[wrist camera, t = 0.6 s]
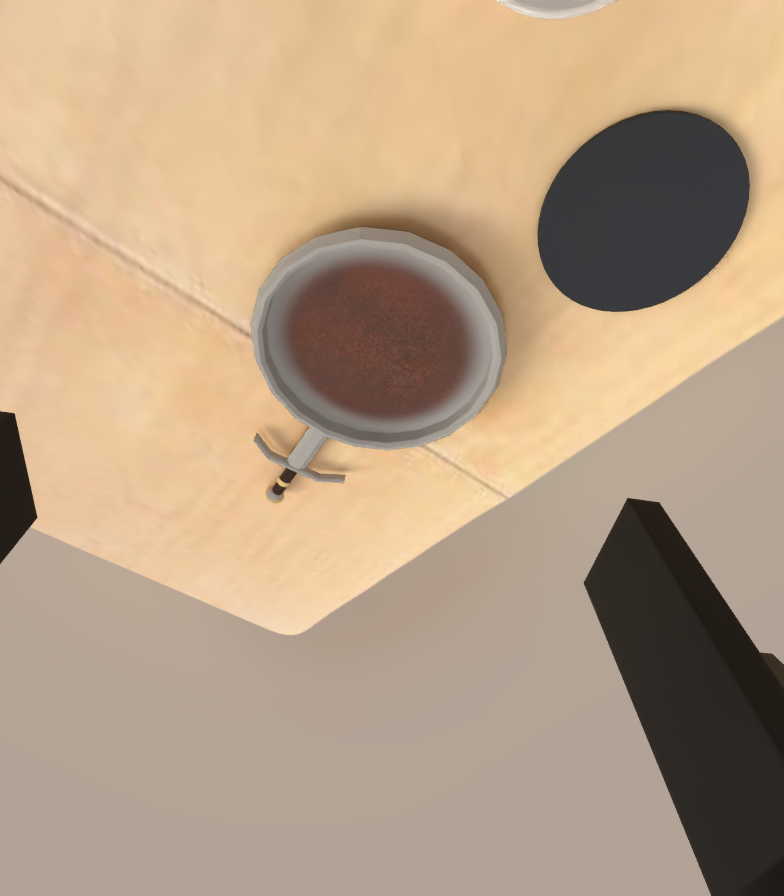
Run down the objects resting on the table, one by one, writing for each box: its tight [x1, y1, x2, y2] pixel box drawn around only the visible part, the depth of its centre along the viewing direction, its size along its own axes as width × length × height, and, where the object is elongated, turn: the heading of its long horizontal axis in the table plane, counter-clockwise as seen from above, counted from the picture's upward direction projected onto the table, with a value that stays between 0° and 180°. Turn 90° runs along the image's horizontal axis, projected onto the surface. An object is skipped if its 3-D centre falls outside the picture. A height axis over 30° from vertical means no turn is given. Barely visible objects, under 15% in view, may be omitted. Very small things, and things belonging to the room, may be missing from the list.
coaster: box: [538, 111, 750, 312], centre depth 31 cm, size 11×11×1 cm
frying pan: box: [250, 227, 507, 503], centre depth 41 cm, size 17×3×28 cm
